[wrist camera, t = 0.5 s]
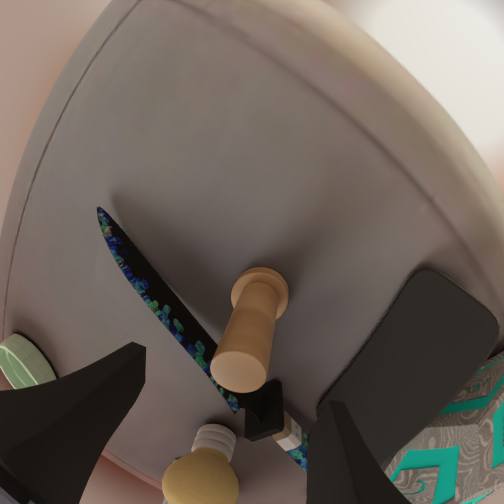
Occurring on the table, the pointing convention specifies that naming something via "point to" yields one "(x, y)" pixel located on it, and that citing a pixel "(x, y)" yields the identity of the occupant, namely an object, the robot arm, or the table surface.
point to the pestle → (250, 330)
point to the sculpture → (457, 446)
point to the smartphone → (415, 362)
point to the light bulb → (204, 470)
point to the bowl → (23, 363)
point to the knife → (204, 346)
